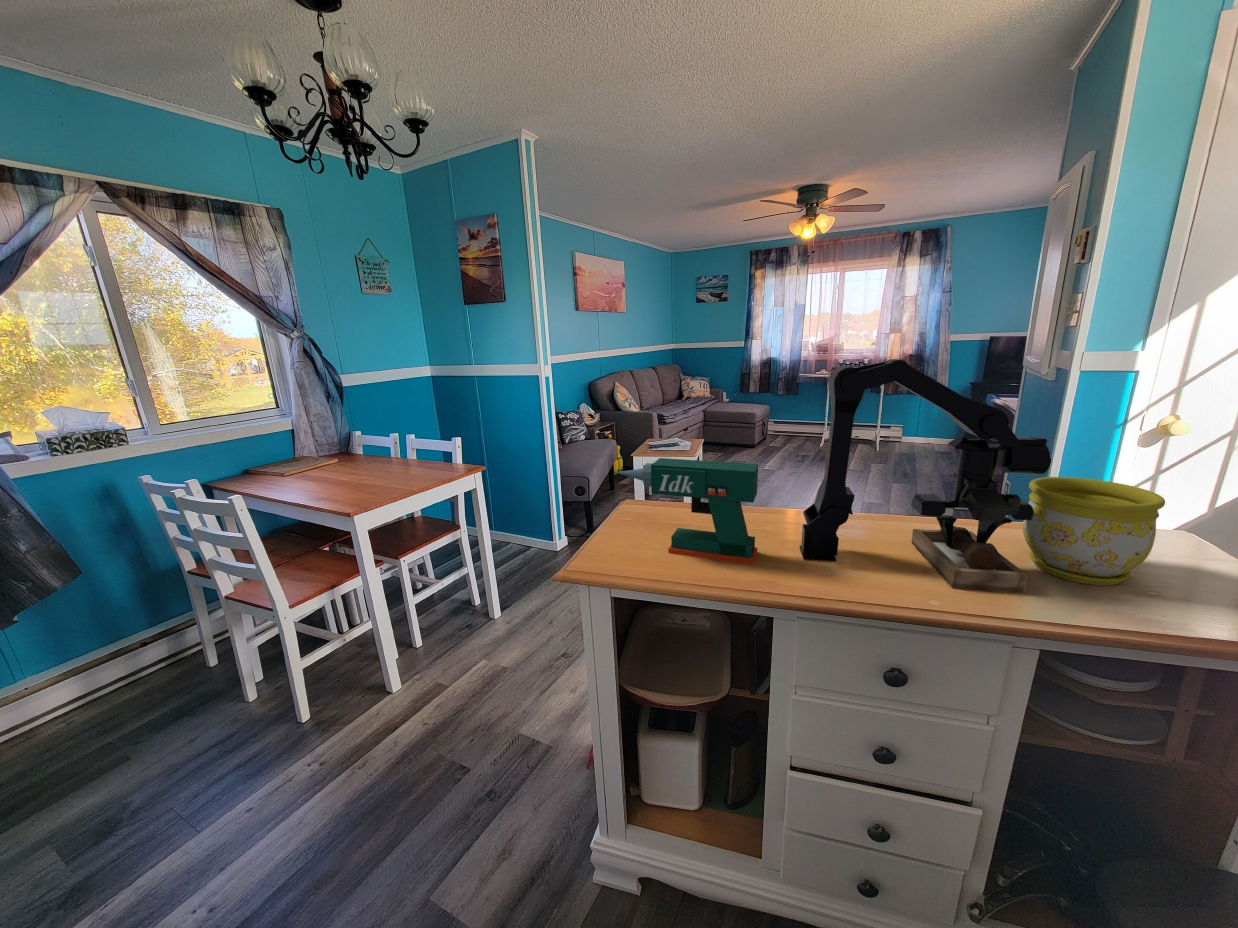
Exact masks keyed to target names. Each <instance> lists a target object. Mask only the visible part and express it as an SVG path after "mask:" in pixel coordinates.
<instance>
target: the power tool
mask: <svg viewBox="0 0 1238 928" xmlns="http://www.w3.org/2000/svg"><path fill="white" fill-rule="evenodd" d="M615 474H619V475H623V476H625V477H629V478H632V479H635V480H639V481H640V482H641V481H642V484H643V485H644V487H647V488H648V487H650V489H651V494H652V495H660V496H661V495H663V496H664V495H665V496H673V497H674V496H675V497H687V498H690V499H691V501H690V502H691V505H690V506H691V507H690V508H691V513H695V514H702V515H703V514H704V515H705V514H706V515H711V518H712V523H713V526H714V530H715V531H711V530H710V531H708V530H700V529H691V528H683V527H678V528H676V530H675V531H674V532H673V534H672V536H671V544H670V546H669V547H668V549H667V550H668V554H673V555H679V556H680V555H681V556H687V557H688V556H689V557H696V558H702V559H708V560H709V559H710V560H717V561H725V562H731V563H740V564H747V565H753V566H754V565H755V561H756V558H757V555H758V547H756V546H755V545H756V536H752V535H751V536H750V535H749V533H748V528H747V524H746V519H745V515H744V512H743V507H742V503H749V504H750V503H752V504H753V503H755V499H756V497H757V494H758V481H759V480H758V479H759V463H749V462H748V463H746V462H730V461H713V460H700V459H699V460H698V459H697V460H696V459H683V458H682V459H681V458H664V457H659V458H658V459H657V460H655V461H654V462H653V463H652V462H651V463H649V462H646V463H645V464H644V467H642V468H637V469H636V468H635V469H631V470H630V469H629V470H623V471H616V472H615ZM702 499H707V502H705V501H702Z"/></svg>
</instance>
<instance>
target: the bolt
mask: <svg viewBox="0 0 1238 928" xmlns="http://www.w3.org/2000/svg"><path fill="white" fill-rule="evenodd" d="M940 533H941V535H942V536H943V534H942V531H940ZM943 538H944V537H943ZM949 548H950V549H954V550H960V551H961V552H962V553H963V557H964V559H965V560H966V562H967V564H968V566H969V568H970V569H981V570H993V569H994V568H995V567H997V565H998V564H999V563H1000V561H1001V557H1000V554H1001V553H1000V552H999V551H998V549H997V548H996V546H995V545H994V544H993V543H991V542H990V543H989V542H986V543H977V542H976V541H974V540H973V539H972V536H971V534H970V533H969V530H968V529H967V528H966V527H962V526H961V527H960V526H955V525H953V535H952V543H951V547H949ZM999 553H1000V554H999Z"/></svg>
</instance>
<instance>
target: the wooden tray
mask: <svg viewBox="0 0 1238 928" xmlns="http://www.w3.org/2000/svg"><path fill="white" fill-rule="evenodd" d="M940 531H941V529H927V528H926V529H923V528H913V529H912V533H911V534H912V535H911V540H910V541H911V542H912V544H913V545H914V546H915V547H916V548H915V547H914V546H913V545H912V544H911V545H912V546H913V547H914V548H915V549H916V550H917V552H918V553H919V552H920V553H921V554H922V555H921V554H920V553H919V554H920V555H921V556H922V557H923V558H924V559H925V561H927V563H929V565H930V566H931V567H932V568H933V569H934V571H936V572H937V574H938V575H939V576H940V577H941V578H942V579H943V580H944V581H945V582H946V583H947V584H948V585H949V587H950V588H951V589H956V590H957V589H958V590H960V589H961V590H970V591H971V590H974V591H986V592H989V591H990V592H1002V593H1017V594H1024V593H1025V591H1026V585H1027V579H1028V574H1027V573H1026V572H1024V571H1023V570H1021V569H1020V568H1019V567H1018V566H1017V565H1015V564H1014V563H1013V562H1011V561H1010V560H1009V559H1007V558H1006V557H1005V556H1003V555H1002V554H1001V553H1000V552H998V553H999V554H1000V557H1001V561H1000V563H999V564H998V565H997V567H995V568H994V569H993V570H981V569H970V568H969V566H968V564H967V562H966V560H965V559H964V557H963V553H962V552H961V551H960V550H954V549H950V548H949V547H947V546H946V543H945V540H944V538H943V536H942V535H941V533H940ZM968 531H969V530H968ZM969 533H970V534H971V536H972V539H973V540H974V541H976V542H977V534H975V533H974V532H972V531H969ZM911 542H910V543H911Z"/></svg>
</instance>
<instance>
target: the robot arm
mask: <svg viewBox="0 0 1238 928" xmlns="http://www.w3.org/2000/svg"><path fill="white" fill-rule="evenodd" d="M827 382H828V393H829V394H828V395H829V396H828V397H829V401H830V407H831V415H830V416H831V417H830V425H829V434H828V442H827V451H826V458H825V465H824V466H825V468H824V476H823V479H822V481H821V483H820V485H819V487H818V489H817V492H816V496H815V499H814V502H813V503H812V504H811V505H810V506H809V507H807V508H805V510H803V511H802V514H803V517H804V520H805V523H804V524H802V528H801V542H800V543H801V545H799V550H800V553H801V556H802V558H803V560H805V561H815V562H816V561H817V562H818V561H819V562H835V563H836V562H837V557H836V556H838V550H839V549H838V548H839V540H840V539H839V536H838V534H837V532H838V529H839V528H840V526H842V525H843V524H845V523H846V522H847V521H848V520H849V517H850V515H851V516H852V515H854V512H853V509H852V508H853V503H854V501H855V496H856V495H855V494H854V492H853V491H852V490H851V488H850V487H849V486H847V483H846V481H847V473H848V467H849V466H848V465H849V459H850V451H851V444H852V443H851V442H852V438H853V437H852V435H853V428H854V423H855V421H854V420H855V416H856V415H855V414H856V412H857V410H858V408H859V406H860V404H861V403H862V401H863V400H862V399H863V397H864V394H865V390H867V389H868V390H869V389H873V388H877V387H880V386H883V385H887V384H889V383H895V384H896V385H898V386H901V387H902V388H904V389H906V390H907V391H909V392H911V393H912V394H914V395H915V396H917V397H919V398H921V399H923V400H924V401H926V402H928V403H930V405H933V406H935V407H936V408H938V409H940V410H942V412H944V413H945V414H946V415H947V416H948V417H949V418H950V419H951V420H952V421H953V422H954V423H955V424H956V425H957V426H958V427H960V428H961V429H962V430H963V431H965V432H967V433H969V434H971V435H973V436H976V437H979V439H978V438H977V439H973V438H971V439H969V438H967V437H966V436H965V435H963V434H959V435H958V436H957V437H956V438H954V439H952V440H951V441H948V443H947V444H948V446H950V447H951V448H954V449H955V450H960V451H959V458H958V463H957V470H956V472H953V479H955V483H954V489H953V491H951V492H950V495H949V496H950V498H951V499H952V500H948V499H942V498H941V497H940V496H938V495H936V494H929V493H925V494H924V493H917V494H915V495H914V496H913V497H912V499H911V507H912V508H913V509H914V510H915V511H916V512H917V513H918V514H920V515H921V516H928V517H935V518H936V521H937V523H938V525H939V527H940V530H941V531H942V534H943V537H944V540H945V543H946V546H947V547H951V543H952V535H953V526H954V524H955V523H956V521H957V520H958V518H956V517H955V516H954V511H959V512H961V511H963V512H964V511H965V512H970V514H971V517H972V519H974V520H975V521H977V522H978V523H977V524H978V525H977V533H976V536H977V543H988V540H989V539H990V537H991V536H992V535H993V533H994V532H995V531H996V530H997V529H998V527H1000V526H1001V527H1002V526H1003V525H1004V524H1011V523H1013V520H1012V519H1014V520H1015V521H1018V520H1019V521H1023V520H1032V519H1033V514H1034V510H1033V507H1032V506H1031V505H1030V504H1028V503H1029V502H1026V501H1025V500H1023V499H1021V497H1020V496H1019V495H1018V494H1016V493H1015V494H1014V493H1012V494H1011V493H1009V494H1008V493H999V492H998V481H997V480H996V479H994V477H995V472H996V466H997V468H1000V469H1001V471H1002V472H1003V473H1005V474H1007V473H1008V474H1029V475H1031V474H1032V475H1044V474H1045V473H1047V471H1048V470H1049V468H1050V467H1051V463H1052V458H1051V453H1050V450H1049V447H1048V446H1047V442H1048V439H1047V438H1044V437H1041V436H1031V437H1030V436H1029V437H1017V436H1016V434H1015V433H1014V432H1013V430H1012V429H1011V427H1010V425H1009V423H1010V421H1009V418H1010V417H1009V415H1008V414H1007V412H1006V411H1004V410H1002V409H1000V408H998V407H995V406H993V405H989V404H986V403H984V402H980V401H977V400H975V399H972V398H969V397H965V396H963V395H961V394H960V393H958V392H956V391H954V390H953V389H951V388H949V387H948V386H946V385H944V384H943V383H940V382H939V381H937V380H936V379H935V378H932V377H930V376H928V375H927V374H926V373H923V371H920V370H919V369H916V368H915V367H914V366H911V365H910V364H909V363H908V362H907V361H906V360H903V359H897V358H892V359H891V358H890V359H888V360H886V361H882V362H877V363H873V364H872V363H871V364H867V365H861V366H857V367H856V366H855V367H854V366H852V365H851V366H850V365H841V366H838V367H836V368H834V369H833V370H832V371H831V372H830V373H829V376H828V381H827ZM980 438H981V439H980ZM986 440H991V441H993V442H996V443H997V444H995V443H992V444H991V443H988V442H987V441H986ZM1009 517H1011V518H1012V519H1011V518H1009Z"/></svg>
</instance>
